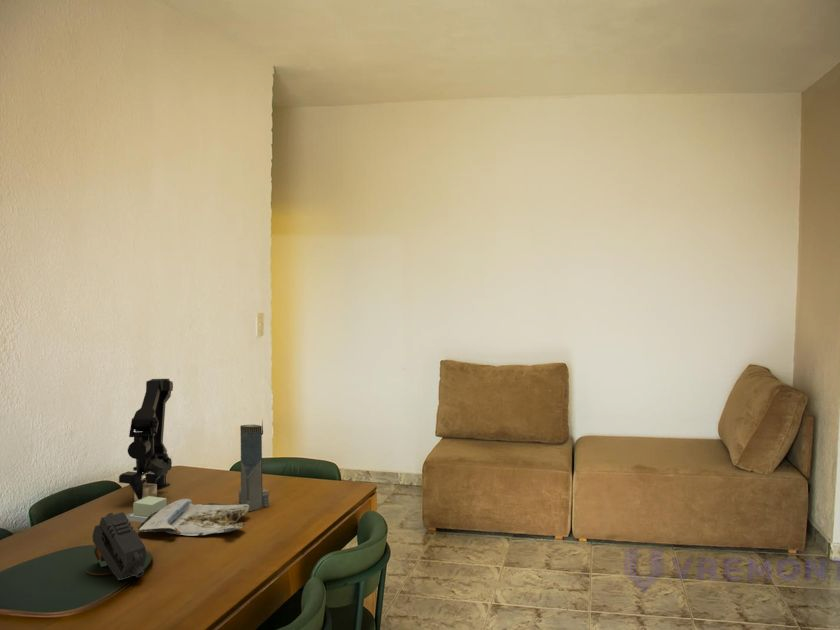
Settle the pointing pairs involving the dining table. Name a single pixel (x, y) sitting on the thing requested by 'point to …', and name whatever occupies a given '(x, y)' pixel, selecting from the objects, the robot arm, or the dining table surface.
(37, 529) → the dining table surface
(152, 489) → the birch cube
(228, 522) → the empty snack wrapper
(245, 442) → the building
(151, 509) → the sage block
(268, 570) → the dining table surface
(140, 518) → the slate mat
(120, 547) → the tool
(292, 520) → the dining table surface
